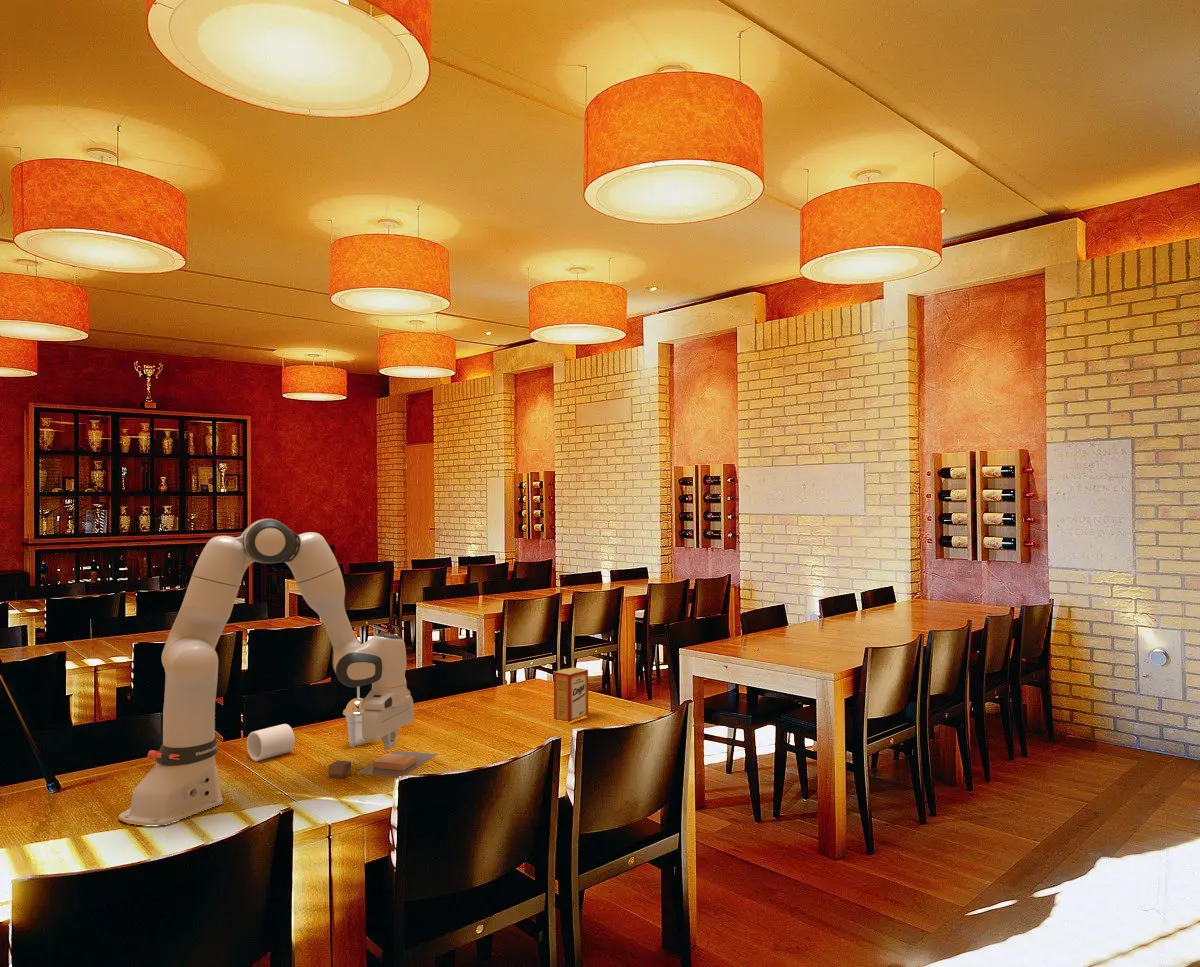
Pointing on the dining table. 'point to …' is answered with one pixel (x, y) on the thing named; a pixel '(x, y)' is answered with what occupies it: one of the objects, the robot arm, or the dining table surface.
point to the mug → (270, 742)
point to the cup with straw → (355, 720)
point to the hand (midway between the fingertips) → (389, 748)
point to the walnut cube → (339, 769)
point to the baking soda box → (570, 694)
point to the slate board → (396, 773)
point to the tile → (394, 761)
